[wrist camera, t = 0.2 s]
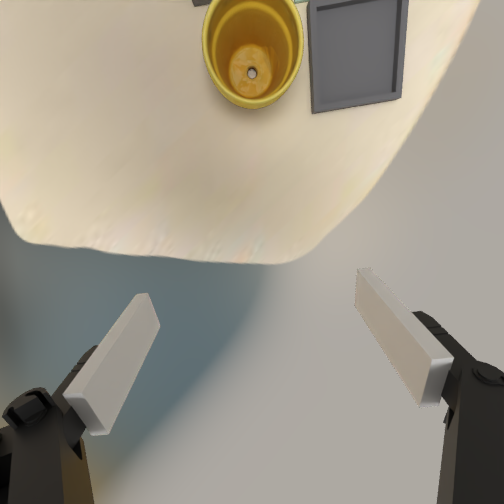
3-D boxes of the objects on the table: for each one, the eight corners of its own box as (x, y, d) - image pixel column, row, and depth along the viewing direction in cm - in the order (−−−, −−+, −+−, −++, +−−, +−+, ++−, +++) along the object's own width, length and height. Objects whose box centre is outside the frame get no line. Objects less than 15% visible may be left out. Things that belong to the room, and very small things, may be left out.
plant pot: (297, 36, 31) (317, -11, 22) (279, 124, 35) (290, 114, 26) (219, 16, 31) (207, -41, 21) (209, 108, 34) (195, 92, 25)
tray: (306, 6, 30) (309, -1, 29) (402, -12, 30) (410, -20, 28) (311, 113, 35) (314, 112, 33) (395, 99, 34) (401, 97, 33)
